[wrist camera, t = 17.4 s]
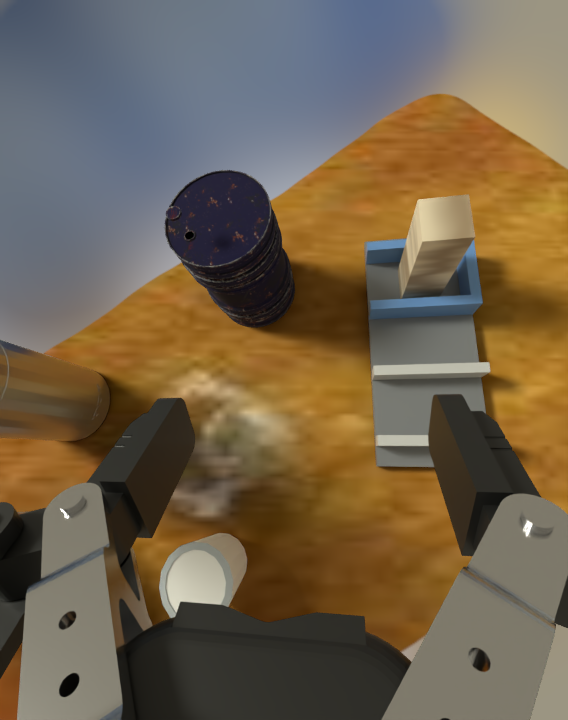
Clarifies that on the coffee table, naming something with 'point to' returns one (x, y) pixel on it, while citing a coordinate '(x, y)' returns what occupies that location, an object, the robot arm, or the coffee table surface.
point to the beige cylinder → (203, 572)
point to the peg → (435, 245)
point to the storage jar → (232, 246)
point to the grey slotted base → (418, 352)
